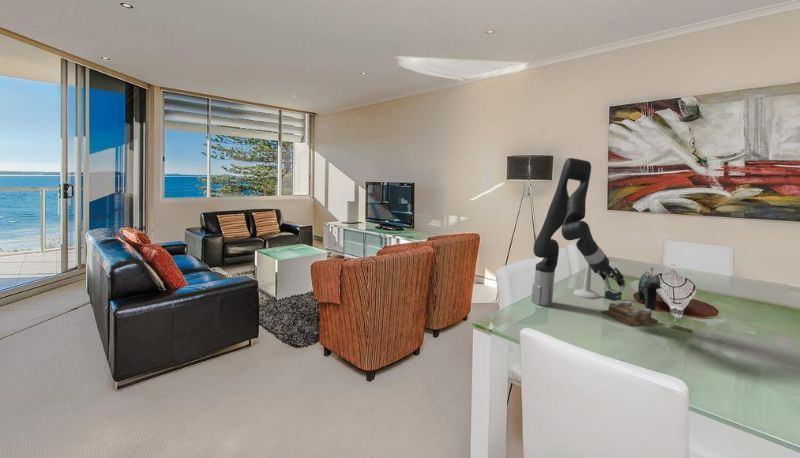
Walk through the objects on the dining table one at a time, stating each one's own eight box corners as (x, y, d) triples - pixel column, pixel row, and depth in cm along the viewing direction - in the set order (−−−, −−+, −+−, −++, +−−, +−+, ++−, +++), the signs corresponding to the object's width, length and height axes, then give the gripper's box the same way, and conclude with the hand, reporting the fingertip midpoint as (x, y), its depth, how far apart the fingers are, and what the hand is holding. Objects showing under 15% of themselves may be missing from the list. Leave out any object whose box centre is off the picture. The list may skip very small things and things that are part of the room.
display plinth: (630, 326, 166) (631, 314, 165) (601, 313, 181) (602, 302, 181) (657, 322, 171) (659, 311, 170) (627, 310, 186) (628, 299, 185)
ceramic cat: (658, 311, 185) (663, 272, 182) (643, 310, 187) (648, 270, 184) (646, 299, 204) (651, 263, 201) (633, 297, 206) (637, 262, 203)
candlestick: (568, 291, 215) (573, 239, 210) (590, 291, 216) (595, 239, 212) (582, 298, 202) (587, 243, 198) (604, 298, 204) (610, 244, 199)
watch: (619, 302, 162) (622, 277, 160) (600, 297, 169) (603, 273, 167) (625, 300, 165) (628, 276, 163) (607, 295, 172) (610, 271, 170)
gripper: (614, 254, 154) (633, 280, 159) (588, 247, 168) (606, 271, 173) (602, 267, 153) (621, 293, 158) (577, 259, 167) (595, 283, 172)
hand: (613, 281), depth 165 cm, fingers closed on watch, 8 cm apart
